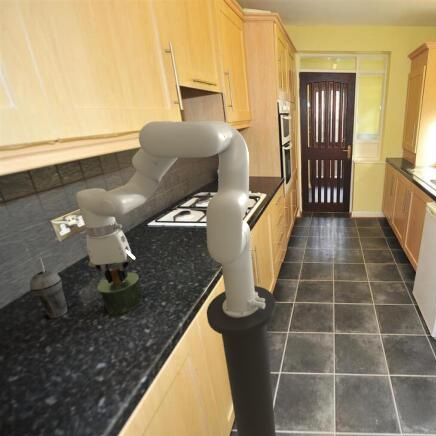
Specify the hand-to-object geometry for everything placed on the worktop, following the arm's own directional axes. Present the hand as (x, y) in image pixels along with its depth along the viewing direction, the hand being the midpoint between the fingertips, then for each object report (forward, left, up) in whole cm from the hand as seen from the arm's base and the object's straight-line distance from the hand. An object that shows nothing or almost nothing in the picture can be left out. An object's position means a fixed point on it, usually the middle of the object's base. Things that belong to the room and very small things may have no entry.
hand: (117, 279), depth 88 cm
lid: (0, 0, -1) cm, 1 cm away
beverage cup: (+17, +10, -10) cm, 22 cm away
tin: (0, 0, -10) cm, 10 cm away
